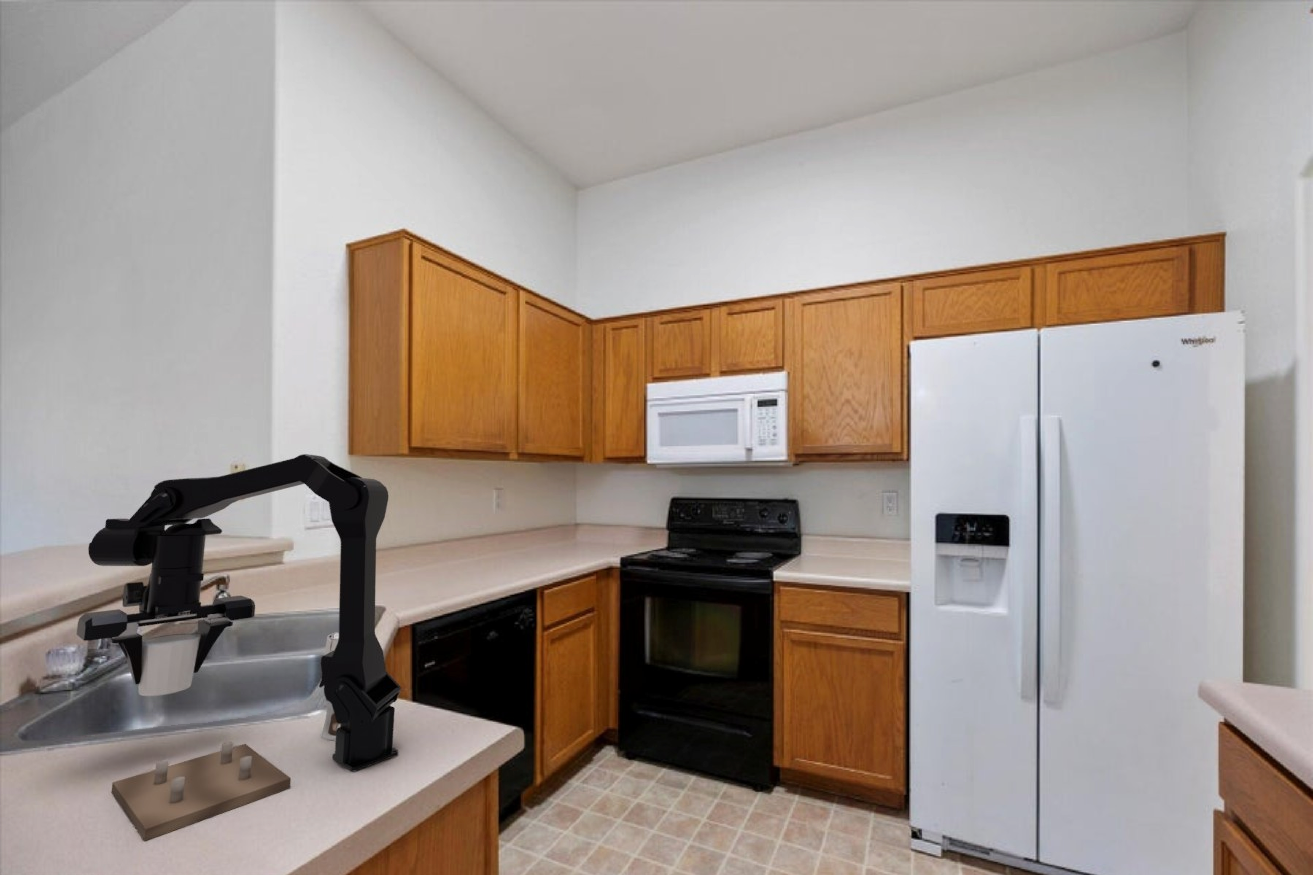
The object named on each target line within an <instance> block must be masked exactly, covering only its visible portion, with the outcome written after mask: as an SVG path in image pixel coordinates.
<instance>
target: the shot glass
mask: <svg viewBox="0 0 1313 875" xmlns="http://www.w3.org/2000/svg"><path fill="white" fill-rule="evenodd" d="M200 638H201V635H199V634H198V633H176V634H175V633H173V634H165V635H160V636H153V637H149V638H145V639H142V673H141V679H140V683H139V684H138V694H139V695H140V696H141V697H143V696H144V697H157V696H158V697H159V696H164V695H171V694H174V693H178V692H181V691H184V690H187V689H189V688H190V687H191V685H192V683H193V678H194V674H195V673H194V668H195V663H196V658H197V653H198V648H199V643H200Z"/></svg>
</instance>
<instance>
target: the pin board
mask: <svg viewBox="0 0 1313 875" xmlns="http://www.w3.org/2000/svg"><path fill="white" fill-rule="evenodd" d="M154 768H155V769H154V770H150V771H146V772H144V773H140V774H136V775H132V776H129V777H126V778H122V779H118V780H116V781H113V782H112V785H111V786H112V787H111V794H112V795H113V797H114V799H115V800H116V801H117V803H118V805H120V808H122V810H123V812H124V814H125V815H126V816H127V818H128V820H130V822H131V823H132V825H133V826H134V828H135V830H136V831H137V832H138V834H139V835H140V836H141V839H142V840H143V841H144V842H146V841H148V840H151V839H154V838H158V837H160V836H162V835H165V834H167V833H170V832H173V831H176V830H178V829H181V828H184V827H186V826H190V825H193V824H195V823H197V822H201V821H203V820H206V819H209V818H211V817H214V816H217V815H220V814H223V813H225V812H228V811H230V810H234V809H236V808H239V807H241V806H244V805H248V804H250V803H252V802H256V801H258V800H261V799H264V798H266V797H269V796H273V795H274V794H278V793H280V792H282V791H285V790H289V789H291V782H292V780H291V777H290V776H288V774H286V773H285V772H283V771H282V770H281V769H279V768H278V767H277V766H276V765H274V764H273V763H271V762H270V761H269V760H267V758H265V757H264V756H262V755H261V754H259V753H258V752H257V751H256V750H254V749H253V748H252V747H250V746H249V745H248V744H246V743H244V744H243V743H242V744H239V745H236V746H234V741H225V742H223V743H222V744H221V750H219V751H215V752H211V753H209V754H205V755H201V756H198V757H195V758H192V759H188V760H185V761H181V762H177V763H174V764H170V765H169V760H168V759H164V760H158V761H157V762H155V767H154Z"/></svg>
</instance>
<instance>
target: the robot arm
mask: <svg viewBox="0 0 1313 875" xmlns="http://www.w3.org/2000/svg"><path fill="white" fill-rule="evenodd" d="M302 485H305V486H306V487H307V488H309V489H310V491H311V492H313V493H314V494H315V495H316V496H318V497H320V498H321V499H323V500H324V501H326V502H328V506H329V512H330V517H331V518H330V519H331V522H332V524H333V527H334V529H335V532H336V533H337V535H338V537H339V540H340V558H339V559H340V560H339V563H340V564H339V599H338V600H339V603H338V604H339V606H338V607H339V608H338V610H339V611H338V632H339V639H338V643H337V645H336V648H335V650H334V651H332V652H330V653H328V654H326V655H325V654H324V655H322V656H321V659H320V667H321V678H320V679H321V680H320V683H319V684H318V685H319V686H318V687H319V688H323V693H324V694H323V695H324V697H325V701H326V700H327V701H329V702H330V703H331V704H332V707H333V710H334V714H335V717H336V721H337V723H340V727H339V728H337V730H336V740H335V746H334V748H335V749H334V753H333V754H332V760H334V761H336V763H337V762H338V763H339V764H341V765H342V766H344V767H346V768H347V769H349V771H351V772H352V771H353V772H354V771H358V770H361V769H364V768H366V767H368V766H371V765H373V764H376V763H379V762H382V761H384V760H388V759H390V758H392V757H395V756H398V755H399V750H398V749H396V748H395V747H394V746H393V742H394V729H395V728H394V727H395V726H394V725H395V710H396V708H395V707H394V706H392V704H394V703H395V702H396V701H398V698H399V695H400V693H401V691H402V686H400V684H399V683H398V682H397V681H396V680H395V679H394V678H393V677H392V676H391V675H390V673H388V671H387V668H386V662H385V657H384V650H383V648H382V646H381V644H380V642H379V640H378V637H377V635H376V582H377V581H376V580H377V579H376V577H377V576H376V575H377V574H376V571H377V570H376V569H377V568H376V566H377V537H378V535H379V533H380V529H381V527H382V525H383V522H384V520H385V517H386V513H387V507H388V502H389V491H388V489H387V487H386V486H385V485H384V484H383V483H382V482H381V481H379V480H378V479H374V478H366V477H365V478H363V477H362V476H361V475H359V474H356V473H354V472H353V471H350V470H348V469H346V468H344V467H341V466H339V465H337V464H335V463H333V461H330V460H329V459H328V458H326V457H325V456H322V455H316V454H315V455H314V454H306V453H304V454H299V455H298V456H296V457H293V458H289V459H285V460H282V461H277V462H272V463H270V464H265V465H261V466H257V467H253V468H249V469H245V470H241V471H236V472H233V473H228V474H225V475H221V476H211V477H189V478H188V477H187V478H177V479H176V478H174V479H166V480H163V481H160V482H158V483H156V484H155V485H154V487H153V490H152V491H151V492H150V495H149V497H147V499H146V500H145V501H144V502H143V503H142V505H141V506H140V507H139V508H138V509H137V510H136V512H134V514H132V516H131V517H130V518H107V519H106V520H105V525H104V526H105V527H103V528H102V529H100V530H99V531H97V533H95V535H94V536H93V538H92V540H91V542H89V544H88V548H87V549H88V556H89V558H90V560H91V562H93V564H95V565H96V566H97V565H98V566H101V567H102V566H103V567H146V566H150V565H151V568H150V569H151V570H150V574H149V577H148V583H147V585H144V582H143V581H139V582H127V583H125V584H124V585H123V586H124V587H123V593H122V607H123V608H130V607H137V606H138V612H137V613H129V614H127V612H125V611H123V610H121V609H119V608H118V609H110V610H109V609H108V610H100V611H92V612H85V613H84V614H82V615H81V616H80V617H79V618H78V620H77V627H76V636H78V638H80V639H81V640H82V641H85V642H86V641H87V642H88V641H96V640H104V639H105V640H107V641H108V642H109V643H111V644H118V646H119V648H120V649H121V651H122V652H123V656H124V658H125V661H126V663H127V666H128V669H129V672H130V675H131V678H132V681H133V684H134V685H139V683H140V679H141V673H142V640H143V635H141V634H140V633H139V632H138V630H139V627H145V626H155V625H161V624H170V623H175V622H176V623H177V622H183V621H191V620H197V634H199V635H201V638H200V643H199V648H198V653H197V658H196V663H195V668H194V673H193V674H197V673H198V672H199V671H200V669H201V667H202V666H203V664H204V662H205V660H206V658H207V657H208V655H209V653H210V651H211V649H212V647H213V646H214V645H215V643H216V642H217V640H218V639H219V637H220V636H221V635H222V634H223V631H224V630H225V629H226V628H230V627H232V626H233V625H234V622H233V621H237V620H244V619H252V618H255V616H256V615H255V614H256V613H255V612H256V605H255V600H253V599H252V598H250V597H247V596H243V595H233V596H224V597H215V598H214V600H213V602H212V603H211V604H203V605H202V602H201V601H200V600H201V590H202V582H204V576H205V574H204V573H203V567H204V559H205V558H204V556H205V549H206V537H207V536H210V535H211V536H213V535H220V534H222V532H223V529H221V528H220V527H219V526H218V525H216V524H215V523H213V521H212V520H211V518H206V517H209V516H211V515H213V514H215V513H218V512H220V511H222V510H225V509H226V508H227V507H229V506H230V505H232V504H234V503H236V502H238V501H242V500H245V499H249V498H253V497H257V496H262V495H265V494H268V493H274V492H277V491H280V490H286V489H290V488H293V487H297V486H302ZM194 519H197V520H196V521H195V522H193V523H189V522H190V521H192V520H194ZM166 526H168V527H167V528H166Z"/></svg>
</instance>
